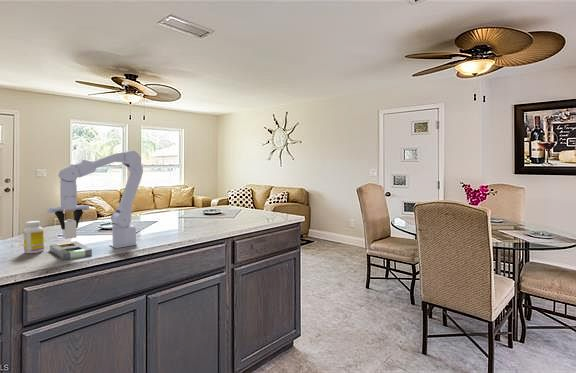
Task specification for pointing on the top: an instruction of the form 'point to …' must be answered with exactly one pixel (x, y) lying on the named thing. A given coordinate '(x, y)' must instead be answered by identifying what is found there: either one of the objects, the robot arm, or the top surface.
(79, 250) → the panel
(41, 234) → the supplement bottle
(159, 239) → the top surface
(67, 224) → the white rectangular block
